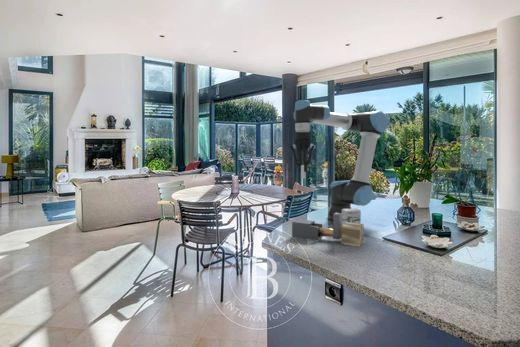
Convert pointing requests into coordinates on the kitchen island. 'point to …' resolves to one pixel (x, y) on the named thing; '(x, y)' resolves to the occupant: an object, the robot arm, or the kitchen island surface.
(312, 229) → the sleeve
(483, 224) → the kitchen island surface
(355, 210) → the ink box
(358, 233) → the socket
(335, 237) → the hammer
